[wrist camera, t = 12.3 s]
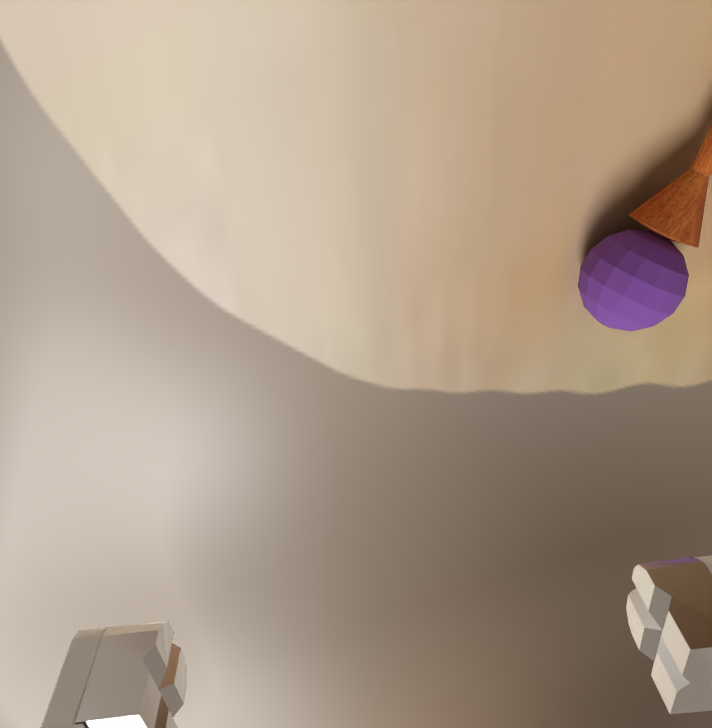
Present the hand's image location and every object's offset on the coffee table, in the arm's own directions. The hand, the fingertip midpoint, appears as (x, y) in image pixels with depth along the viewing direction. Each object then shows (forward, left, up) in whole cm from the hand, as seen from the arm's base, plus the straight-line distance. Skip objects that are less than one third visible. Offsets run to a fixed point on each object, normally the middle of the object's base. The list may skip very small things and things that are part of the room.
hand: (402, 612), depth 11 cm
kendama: (-20, +2, -30) cm, 36 cm away
